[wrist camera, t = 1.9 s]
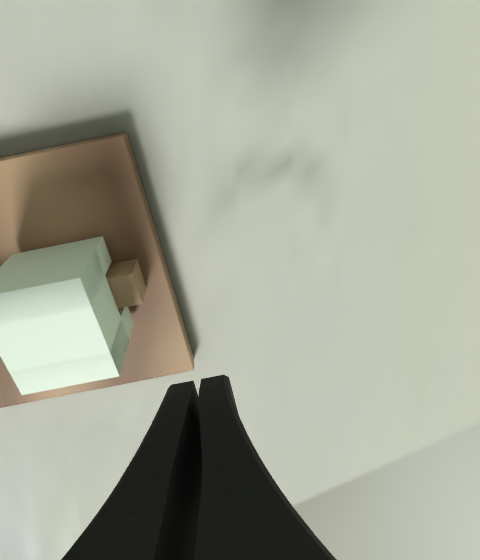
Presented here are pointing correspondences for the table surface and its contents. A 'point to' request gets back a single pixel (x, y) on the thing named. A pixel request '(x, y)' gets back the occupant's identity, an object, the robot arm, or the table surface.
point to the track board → (118, 238)
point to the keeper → (61, 317)
